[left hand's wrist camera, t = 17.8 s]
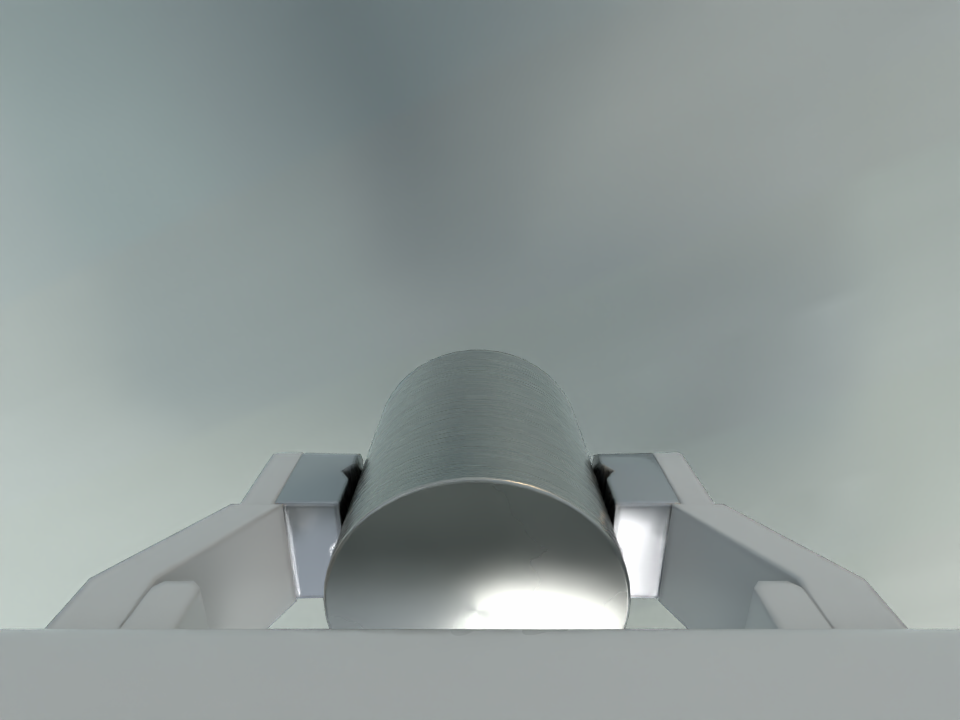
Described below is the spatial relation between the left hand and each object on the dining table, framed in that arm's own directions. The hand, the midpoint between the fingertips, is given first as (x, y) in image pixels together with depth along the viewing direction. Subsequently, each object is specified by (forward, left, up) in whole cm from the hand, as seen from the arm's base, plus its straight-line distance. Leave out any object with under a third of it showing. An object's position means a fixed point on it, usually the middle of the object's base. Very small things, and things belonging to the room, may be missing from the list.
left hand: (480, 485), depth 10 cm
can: (0, 0, -2) cm, 2 cm away
